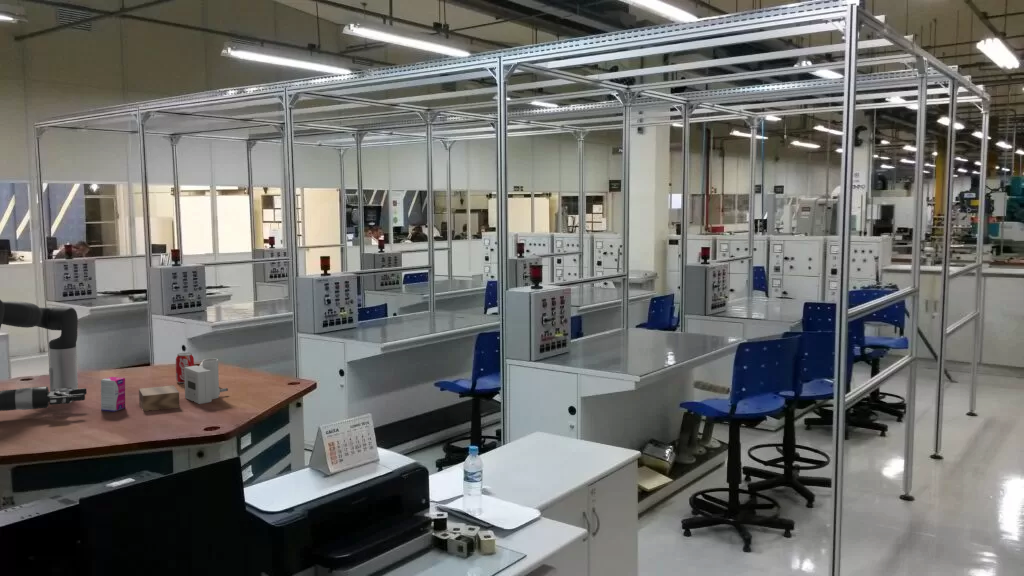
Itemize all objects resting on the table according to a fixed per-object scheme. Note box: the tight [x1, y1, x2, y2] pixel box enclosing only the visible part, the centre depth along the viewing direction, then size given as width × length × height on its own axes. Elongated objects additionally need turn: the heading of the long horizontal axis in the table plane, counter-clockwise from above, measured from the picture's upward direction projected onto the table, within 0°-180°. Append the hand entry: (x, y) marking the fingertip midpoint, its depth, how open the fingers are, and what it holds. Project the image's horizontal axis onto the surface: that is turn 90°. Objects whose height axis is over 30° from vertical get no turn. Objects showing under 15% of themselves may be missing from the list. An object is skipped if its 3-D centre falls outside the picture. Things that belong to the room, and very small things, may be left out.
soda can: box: [175, 352, 195, 384], centre depth 315 cm, size 7×7×12 cm
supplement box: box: [100, 376, 126, 413], centre depth 271 cm, size 6×6×12 cm
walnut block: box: [138, 385, 180, 412], centre depth 278 cm, size 12×12×6 cm
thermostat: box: [184, 358, 229, 405], centre depth 290 cm, size 12×14×15 cm
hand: (85, 394), depth 267 cm, fingers open, 8 cm apart
